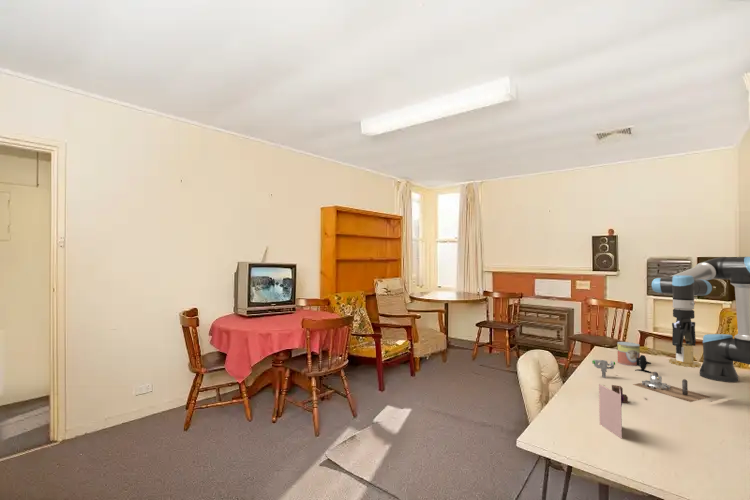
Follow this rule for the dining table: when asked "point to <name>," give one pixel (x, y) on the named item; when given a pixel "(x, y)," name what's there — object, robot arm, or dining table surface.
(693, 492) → the dining table surface
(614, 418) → the greeting card
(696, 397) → the gear board
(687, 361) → the brass gear
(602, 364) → the mechanical component
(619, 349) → the canned food
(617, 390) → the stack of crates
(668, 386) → the steel gear
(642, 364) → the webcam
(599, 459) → the dining table surface
